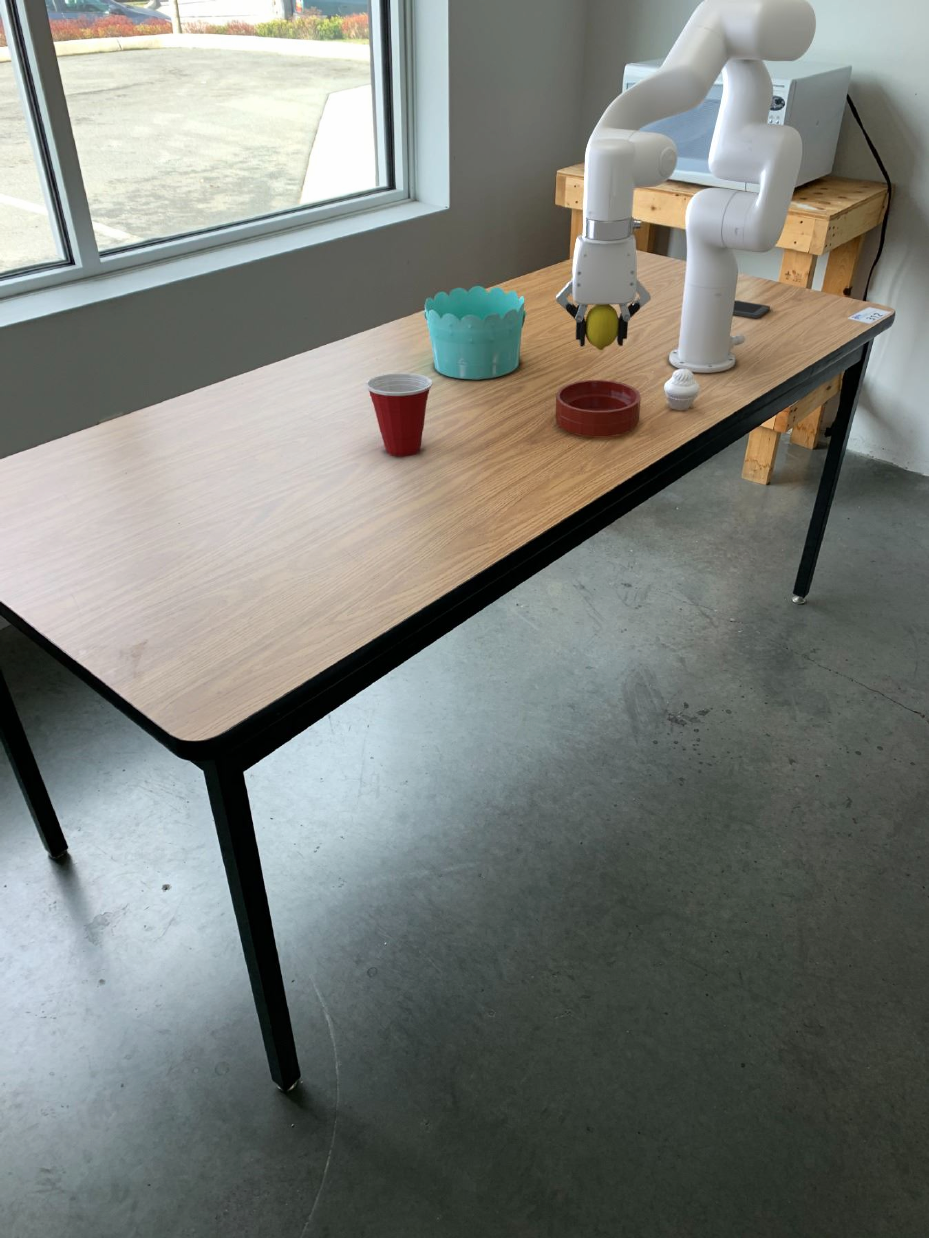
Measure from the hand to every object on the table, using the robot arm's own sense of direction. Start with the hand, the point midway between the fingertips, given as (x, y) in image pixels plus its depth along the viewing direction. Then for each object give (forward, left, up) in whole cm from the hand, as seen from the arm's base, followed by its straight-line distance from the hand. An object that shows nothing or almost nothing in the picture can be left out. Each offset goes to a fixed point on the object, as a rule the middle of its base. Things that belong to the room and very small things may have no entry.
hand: (600, 342), depth 160 cm
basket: (0, -36, -14) cm, 39 cm away
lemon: (0, 0, -1) cm, 1 cm away
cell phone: (-64, -27, -14) cm, 71 cm away
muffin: (-16, +4, -14) cm, 22 cm away
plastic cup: (+32, -12, -14) cm, 37 cm away
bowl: (0, 0, -14) cm, 14 cm away
